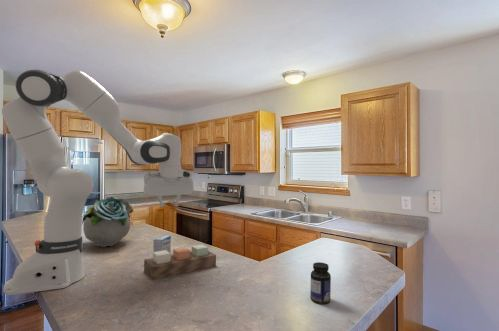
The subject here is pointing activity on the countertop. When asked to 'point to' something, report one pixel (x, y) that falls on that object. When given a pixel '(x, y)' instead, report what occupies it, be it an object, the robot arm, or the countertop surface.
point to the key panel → (178, 265)
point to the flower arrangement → (107, 221)
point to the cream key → (161, 257)
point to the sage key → (199, 250)
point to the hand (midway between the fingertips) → (168, 206)
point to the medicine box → (162, 243)
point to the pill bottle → (320, 283)
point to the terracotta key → (181, 253)
